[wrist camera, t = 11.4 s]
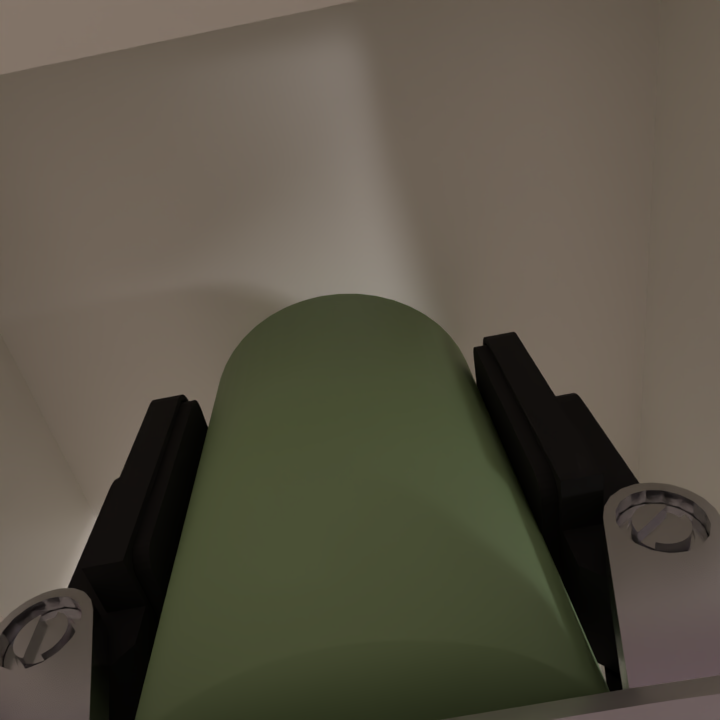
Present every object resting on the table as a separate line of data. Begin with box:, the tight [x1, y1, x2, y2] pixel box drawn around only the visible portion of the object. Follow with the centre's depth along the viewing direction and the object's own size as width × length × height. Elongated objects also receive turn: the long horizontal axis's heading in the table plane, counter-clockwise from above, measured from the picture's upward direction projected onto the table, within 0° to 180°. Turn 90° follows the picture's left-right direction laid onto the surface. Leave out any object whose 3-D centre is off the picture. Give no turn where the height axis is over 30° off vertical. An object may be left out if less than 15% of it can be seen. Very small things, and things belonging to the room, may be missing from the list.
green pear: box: [135, 294, 610, 720], centre depth 9 cm, size 5×5×7 cm
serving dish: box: [0, 0, 720, 672], centre depth 13 cm, size 16×16×5 cm
